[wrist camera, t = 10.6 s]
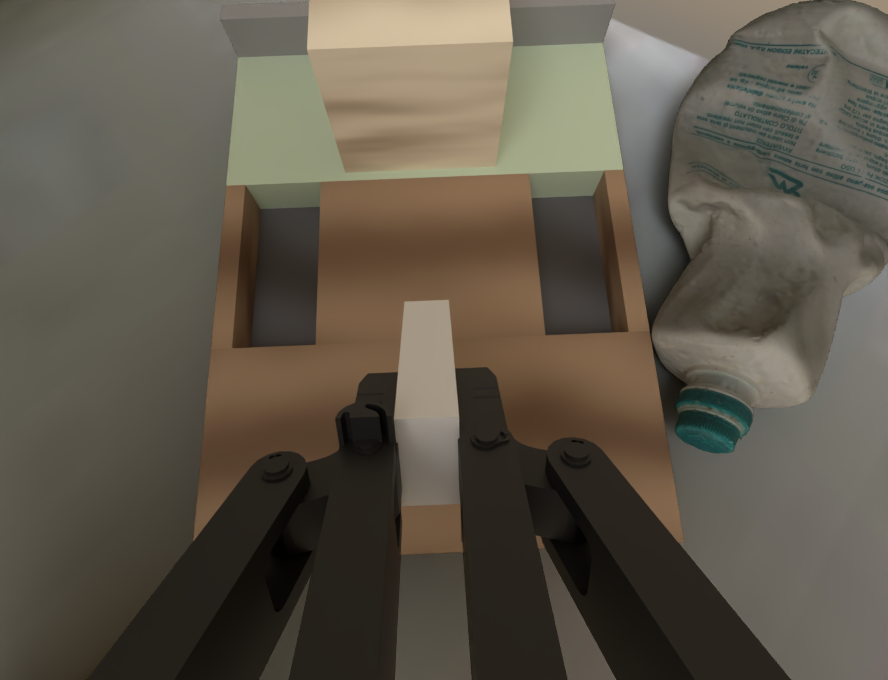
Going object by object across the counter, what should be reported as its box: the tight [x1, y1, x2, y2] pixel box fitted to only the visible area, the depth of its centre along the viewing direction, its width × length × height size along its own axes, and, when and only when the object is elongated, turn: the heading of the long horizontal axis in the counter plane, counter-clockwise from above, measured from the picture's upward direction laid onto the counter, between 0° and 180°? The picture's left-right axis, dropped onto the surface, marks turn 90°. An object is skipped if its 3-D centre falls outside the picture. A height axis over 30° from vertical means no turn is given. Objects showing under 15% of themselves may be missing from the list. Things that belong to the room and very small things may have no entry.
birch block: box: [307, 0, 513, 173], centre depth 26 cm, size 8×8×8 cm
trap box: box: [193, 170, 684, 555], centre depth 27 cm, size 18×21×3 cm
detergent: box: [651, 0, 888, 453], centre depth 27 cm, size 13×7×25 cm
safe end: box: [220, 0, 623, 209], centre depth 30 cm, size 10×21×6 cm, turn 92°
